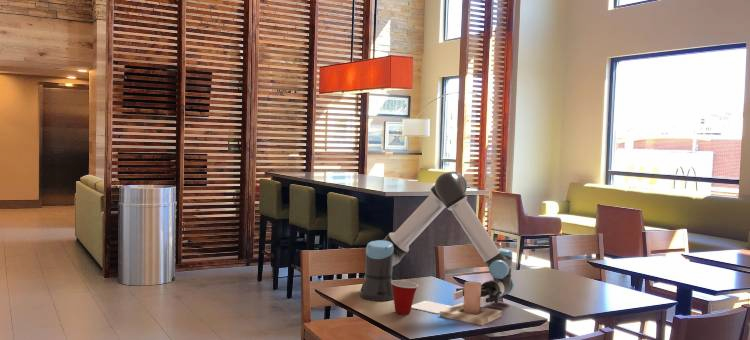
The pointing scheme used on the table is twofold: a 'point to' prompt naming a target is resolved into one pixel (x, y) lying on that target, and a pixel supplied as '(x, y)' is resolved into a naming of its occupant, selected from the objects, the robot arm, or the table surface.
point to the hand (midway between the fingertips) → (467, 298)
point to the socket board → (480, 319)
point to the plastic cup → (403, 295)
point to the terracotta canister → (472, 297)
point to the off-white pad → (430, 307)
